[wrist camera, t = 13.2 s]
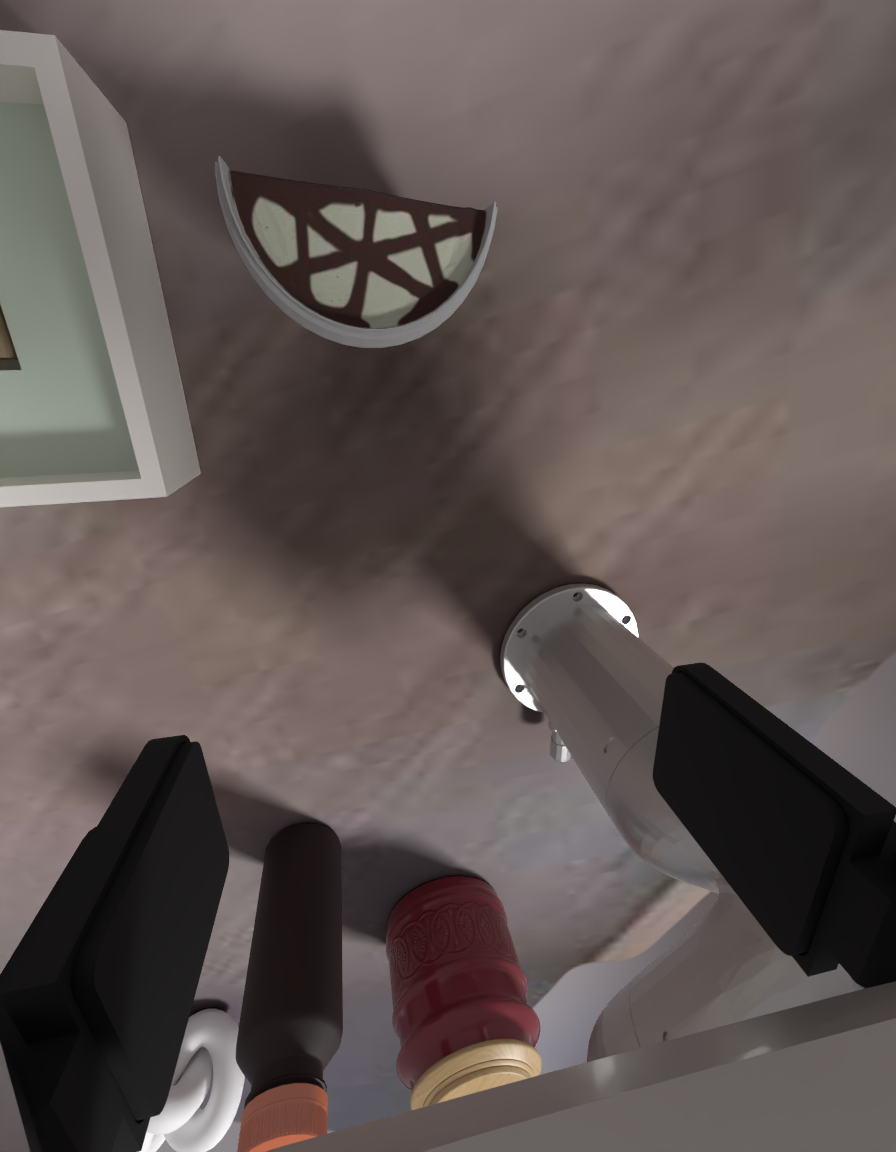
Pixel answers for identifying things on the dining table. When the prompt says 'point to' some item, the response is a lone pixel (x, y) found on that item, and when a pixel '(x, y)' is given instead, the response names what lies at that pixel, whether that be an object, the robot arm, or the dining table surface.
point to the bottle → (292, 990)
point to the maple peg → (6, 341)
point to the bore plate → (50, 320)
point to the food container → (354, 255)
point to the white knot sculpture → (200, 1087)
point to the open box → (106, 277)
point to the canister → (458, 993)
